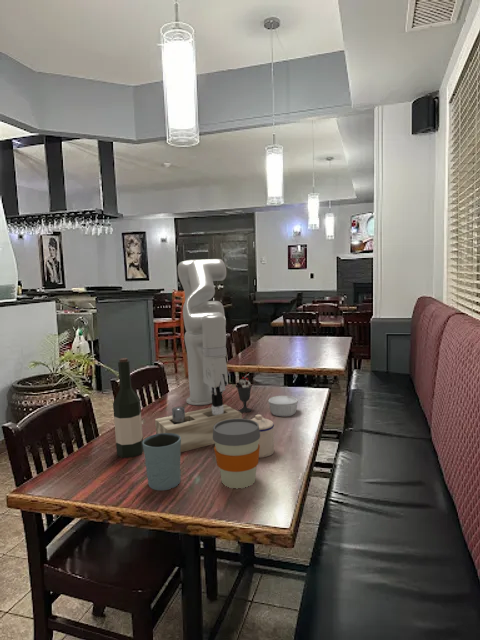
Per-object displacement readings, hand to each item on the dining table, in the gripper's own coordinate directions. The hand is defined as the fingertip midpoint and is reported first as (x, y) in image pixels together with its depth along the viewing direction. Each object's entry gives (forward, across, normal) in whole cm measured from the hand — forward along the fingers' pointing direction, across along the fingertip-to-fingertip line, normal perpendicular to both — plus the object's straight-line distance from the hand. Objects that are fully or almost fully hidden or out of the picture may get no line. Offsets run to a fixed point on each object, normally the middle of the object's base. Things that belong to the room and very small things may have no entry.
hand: (217, 405), depth 151 cm
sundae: (+10, -17, +20) cm, 29 cm away
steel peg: (+8, 0, 0) cm, 8 cm away
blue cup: (+11, +22, -27) cm, 36 cm away
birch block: (+10, 0, -7) cm, 13 cm away
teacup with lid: (+11, +19, +3) cm, 22 cm away
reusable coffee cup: (+11, +32, -10) cm, 35 cm away
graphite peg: (+6, 0, -14) cm, 15 cm away
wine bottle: (+11, -3, -30) cm, 32 cm away
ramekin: (+11, -6, +31) cm, 33 cm away
